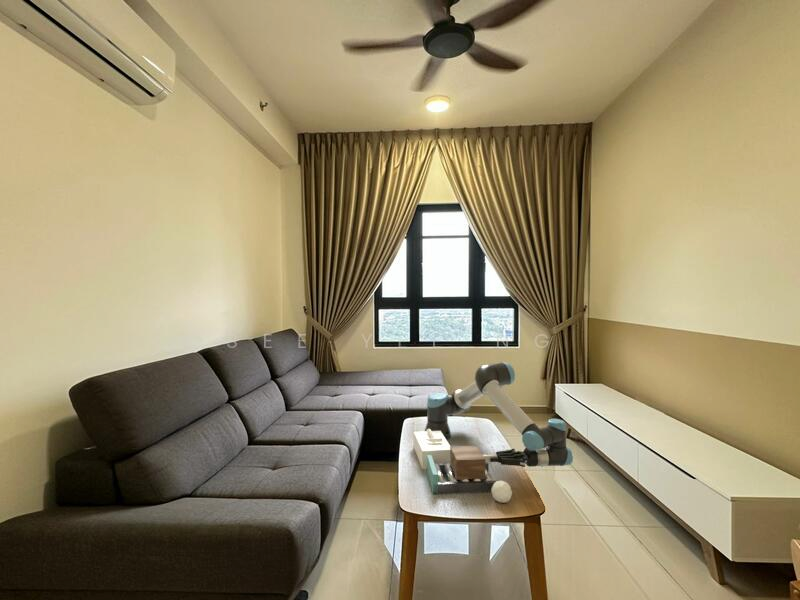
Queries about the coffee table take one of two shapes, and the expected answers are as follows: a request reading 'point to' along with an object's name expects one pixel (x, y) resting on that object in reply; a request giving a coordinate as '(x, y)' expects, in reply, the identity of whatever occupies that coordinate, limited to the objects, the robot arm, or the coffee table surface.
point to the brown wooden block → (467, 462)
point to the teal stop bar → (432, 473)
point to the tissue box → (431, 447)
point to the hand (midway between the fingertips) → (482, 458)
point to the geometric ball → (501, 491)
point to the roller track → (465, 484)
